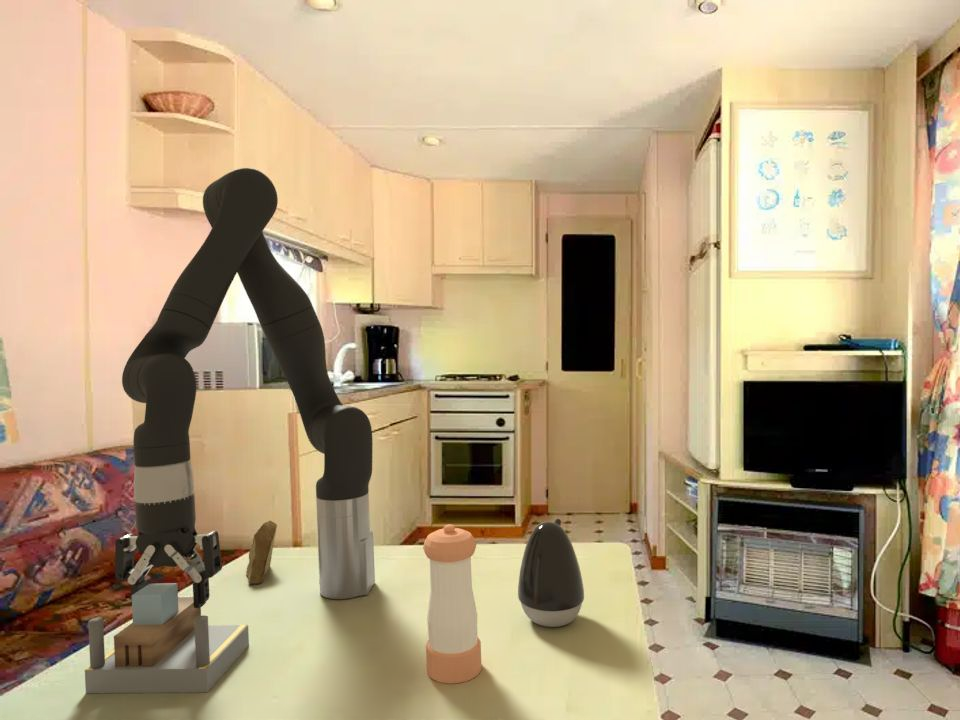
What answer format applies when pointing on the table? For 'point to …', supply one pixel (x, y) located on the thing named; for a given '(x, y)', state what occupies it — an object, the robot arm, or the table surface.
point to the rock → (261, 552)
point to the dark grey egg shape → (550, 577)
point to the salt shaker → (451, 607)
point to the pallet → (154, 637)
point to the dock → (168, 661)
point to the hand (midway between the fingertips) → (171, 606)
